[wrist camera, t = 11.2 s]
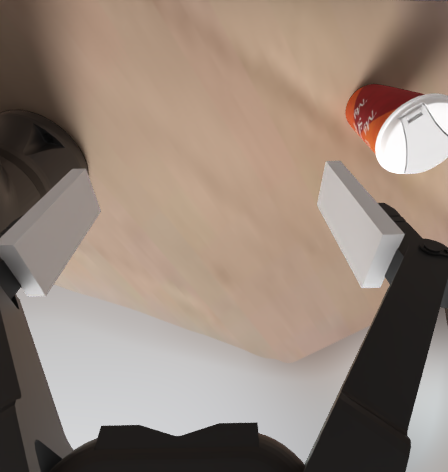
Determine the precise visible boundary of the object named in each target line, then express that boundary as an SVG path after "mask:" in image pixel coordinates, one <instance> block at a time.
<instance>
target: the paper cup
mask: <svg viewBox="0 0 448 472" xmlns="http://www.w3.org/2000/svg"><path fill="white" fill-rule="evenodd" d="M346 118H347V121H348V123H349V124H350V125H351V127H352V128H353V129H354V130H355V131H356V133H357V134H358V135H359V136H360V137H361V138H362V139H363V141H364V142H365V143H366V144H367V145H368V146H369V147H370V148H371V149H372V151H373V152H374V153H375V154H376V157H377V160H378V162H379V163H380V165H381V166H382V167H383V168H385V169H386V170H388V171H390V172H393V173H397V174H414V173H421V172H424V171H427V170H429V169H431V168H433V167H435V166H437V165H438V164H440V163H441V162H443V161H444V160H445V159H446V158H447V157H448V96H447V95H444V94H438V93H431V94H421V93H417V92H412V91H408V90H403V89H399V88H394V87H390V86H385V85H379V84H370V85H366V86H364V87H362V88H360V89H359V90H357V91H356V92H355V93H354V94H353V95H352V96H351V98H350V99H349V101H348V103H347V106H346Z"/></svg>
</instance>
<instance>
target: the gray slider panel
mask: <svg viewBox="0 0 448 472" xmlns="http://www.w3.org/2000/svg"><path fill="white" fill-rule="evenodd" d="M416 1H448V0H416Z"/></svg>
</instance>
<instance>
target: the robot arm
mask: <svg viewBox="0 0 448 472" xmlns="http://www.w3.org/2000/svg"><path fill="white" fill-rule="evenodd" d="M317 206H318V208H319V210H320V211H321V213H322V215H323V217H324V219H325V221H326V223H327V225H328V226H329V228H330V230H331V232H332V234H333V236H334V238H335V239H336V241H337V243H338V245H339V247H340V249H341V251H342V253H343V254H344V256H345V258H346V260H347V262H348V264H349V266H350V268H351V269H352V271H353V273H354V275H355V277H356V279H357V281H358V282H359V284H360V286H361V288H380V287H381V285H382V283H383V280H384V278H385V277H386V279H387V281H388V282H389V284H390V286H389V288H388V290H387V292H386V294H385V296H384V298H383V300H382V302H381V305H380V307H379V309H378V311H377V313H376V315H375V317H374V319H373V322H372V324H371V326H370V328H369V330H368V332H367V334H366V336H365V338H364V341H363V343H362V345H361V347H360V349H359V351H358V353H357V355H356V357H355V360H354V362H353V364H352V366H351V368H350V370H349V372H348V375H347V377H346V379H345V381H344V383H343V385H342V387H341V389H340V391H339V393H338V395H337V398H336V400H335V402H334V404H333V406H332V408H331V410H330V412H329V414H328V417H327V419H326V421H325V423H324V425H323V427H322V429H321V431H320V434H319V436H318V438H317V440H316V442H315V444H314V446H313V448H312V450H311V452H310V454H309V456H308V458H307V460H306V463H305V465H304V464H303V462H302V461H301V460H300V459H299V458H298V457H297V456H296V455H295V454H294V453H293V452H292V451H290V450H289V449H288V448H287V447H286V446H284V445H283V444H281V443H280V442H278V441H276V440H275V439H272V438H270V437H268V436H266V435H262V434H259V433H258V426H257V423H219V424H216V425H213V426H210V427H207V428H204V429H201V430H198V431H195V432H192V433H188V434H185V435H182V436H173V435H170V434H166V433H163V432H160V431H157V430H153V429H150V428H147V427H144V426H140V425H125V426H124V425H122V426H101V429H100V432H99V435H98V438H97V439H94V440H92V441H90V442H87V443H85V444H83V445H82V446H80V447H78V448H77V449H75V450H74V451H73V449H72V448H71V446H70V444H69V442H68V441H67V439H66V436H65V434H64V431H63V428H62V425H61V422H60V419H59V416H58V413H57V410H56V407H55V404H54V401H53V398H52V395H51V392H50V389H49V386H48V383H47V380H46V377H45V374H44V371H43V368H42V365H41V362H40V359H39V356H38V353H37V350H36V348H35V344H34V342H33V338H32V335H31V332H30V330H29V327H28V323H27V321H26V317H25V315H24V311H23V308H22V306H21V303H20V300H19V298H18V297H17V296H16V293H17V291H18V290H19V289H20V287H21V288H22V289H23V290H24V292H25V293H26V295H27V296H28V297H29V296H30V297H32V296H46V295H47V294H48V292H49V291H50V289H51V287H52V286H53V285H54V283H55V281H56V280H57V278H58V277H59V275H60V274H61V272H62V271H63V269H64V268H65V266H66V264H67V263H68V261H69V260H70V258H71V257H72V255H73V254H74V252H75V251H76V249H77V247H78V246H79V244H80V243H81V241H82V240H83V238H84V237H85V235H86V234H87V232H88V231H89V229H90V227H91V226H92V224H93V223H94V221H95V220H96V218H97V217H98V215H99V214H100V212H101V210H100V207H99V204H98V201H97V198H96V195H95V193H94V190H93V187H92V184H91V181H90V178H89V176H88V169H87V164H86V161H85V159H84V156H83V154H82V152H81V150H80V149H79V147H78V146H77V144H76V143H75V142H74V140H73V139H72V138H71V137H70V136H69V135H68V134H67V133H66V132H65V131H64V130H63V129H62V128H60V127H59V126H58V125H56V124H55V123H53V122H52V121H50V120H48V119H47V118H45V117H43V116H40V115H38V114H35V113H32V112H28V111H22V110H9V111H4V112H1V113H0V472H405V471H406V467H407V463H408V459H409V453H410V448H411V441H410V439H409V437H408V436H407V430H408V426H409V422H410V418H411V414H412V411H413V406H414V403H415V399H416V395H417V392H418V388H419V384H420V380H421V377H422V373H423V369H424V365H425V362H426V358H427V354H428V350H429V347H430V343H431V339H432V335H433V331H434V328H435V324H436V320H437V316H438V313H439V309H440V307H443V308H445V313H446V319H447V324H448V247H446V246H445V245H443V244H441V243H439V242H437V241H434V240H430V239H423V238H422V237H421V236H420V235H419V234H418V233H417V232H416V231H415V230H414V229H413V228H412V227H411V226H410V225H409V224H408V223H407V222H406V221H405V219H404V218H403V217H401V215H400V214H399V213H398V212H397V211H396V210H395V209H394V208H392V207H390V206H389V205H387V204H385V203H377V202H376V201H375V200H374V199H373V197H372V196H371V195H370V194H369V193H368V192H367V191H366V190H365V188H364V187H363V186H362V185H361V184H360V183H359V182H358V180H357V179H356V178H355V177H354V176H353V175H352V174H351V173H350V171H349V170H348V169H347V168H346V167H345V166H344V165H343V163H342V162H341V161H326V163H325V168H324V173H323V178H322V183H321V188H320V193H319V198H318V202H317Z"/></svg>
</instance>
